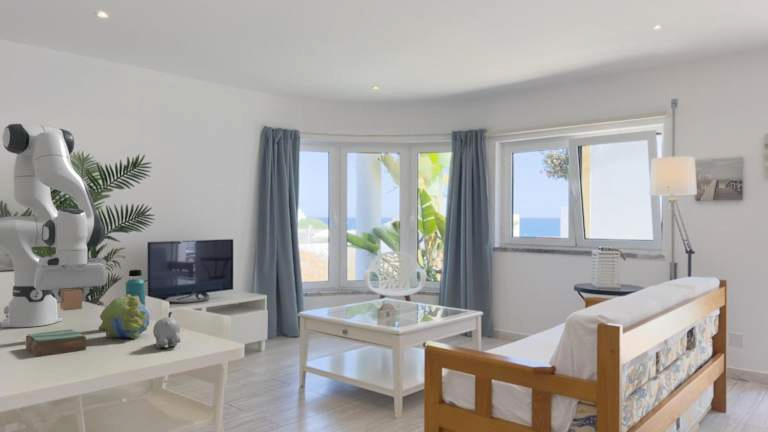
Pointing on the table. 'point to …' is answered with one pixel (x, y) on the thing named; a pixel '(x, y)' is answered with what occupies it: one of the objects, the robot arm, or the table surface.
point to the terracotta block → (71, 299)
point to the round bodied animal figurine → (166, 332)
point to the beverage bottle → (136, 286)
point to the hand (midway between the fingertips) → (71, 302)
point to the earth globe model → (125, 318)
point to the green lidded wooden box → (55, 342)
